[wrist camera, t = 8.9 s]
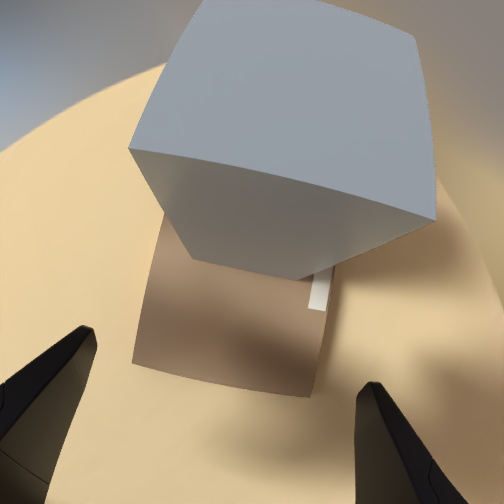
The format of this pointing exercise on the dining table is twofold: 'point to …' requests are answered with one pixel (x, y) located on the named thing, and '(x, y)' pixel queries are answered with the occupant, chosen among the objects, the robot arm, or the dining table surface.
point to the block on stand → (230, 322)
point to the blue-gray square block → (288, 136)
